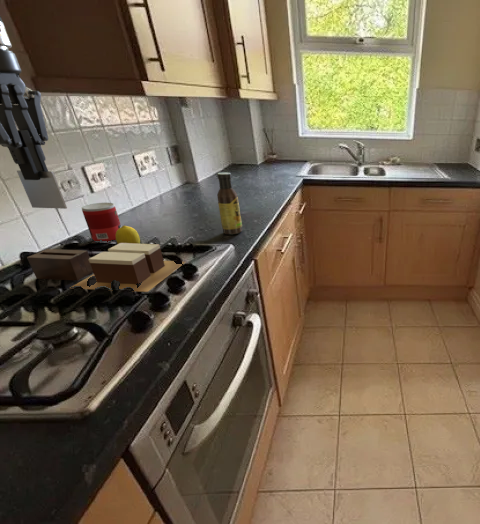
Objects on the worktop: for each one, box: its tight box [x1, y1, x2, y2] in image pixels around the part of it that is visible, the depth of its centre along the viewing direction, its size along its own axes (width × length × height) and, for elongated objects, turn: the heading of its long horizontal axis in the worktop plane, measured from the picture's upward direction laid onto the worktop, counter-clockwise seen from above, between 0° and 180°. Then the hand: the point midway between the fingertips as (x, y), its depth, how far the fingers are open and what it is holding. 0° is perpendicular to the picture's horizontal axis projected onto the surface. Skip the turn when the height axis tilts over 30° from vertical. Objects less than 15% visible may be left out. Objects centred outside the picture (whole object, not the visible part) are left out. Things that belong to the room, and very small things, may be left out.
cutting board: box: [69, 260, 187, 293], centre depth 81 cm, size 18×16×2 cm
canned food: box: [81, 202, 122, 242], centre depth 102 cm, size 8×8×11 cm
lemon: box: [115, 224, 141, 244], centre depth 95 cm, size 6×6×8 cm
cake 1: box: [89, 251, 151, 284], centre depth 77 cm, size 10×4×6 cm, turn 88°
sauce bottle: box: [216, 171, 243, 236], centre depth 109 cm, size 6×6×20 cm
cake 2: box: [107, 243, 165, 273], centre depth 82 cm, size 10×4×6 cm, turn 87°
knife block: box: [26, 248, 93, 282], centre depth 79 cm, size 10×5×7 cm, turn 87°
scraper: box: [16, 129, 68, 210], centre depth 69 cm, size 8×2×16 cm, turn 88°
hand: (37, 178), depth 70 cm, fingers closed on scraper, 2 cm apart
